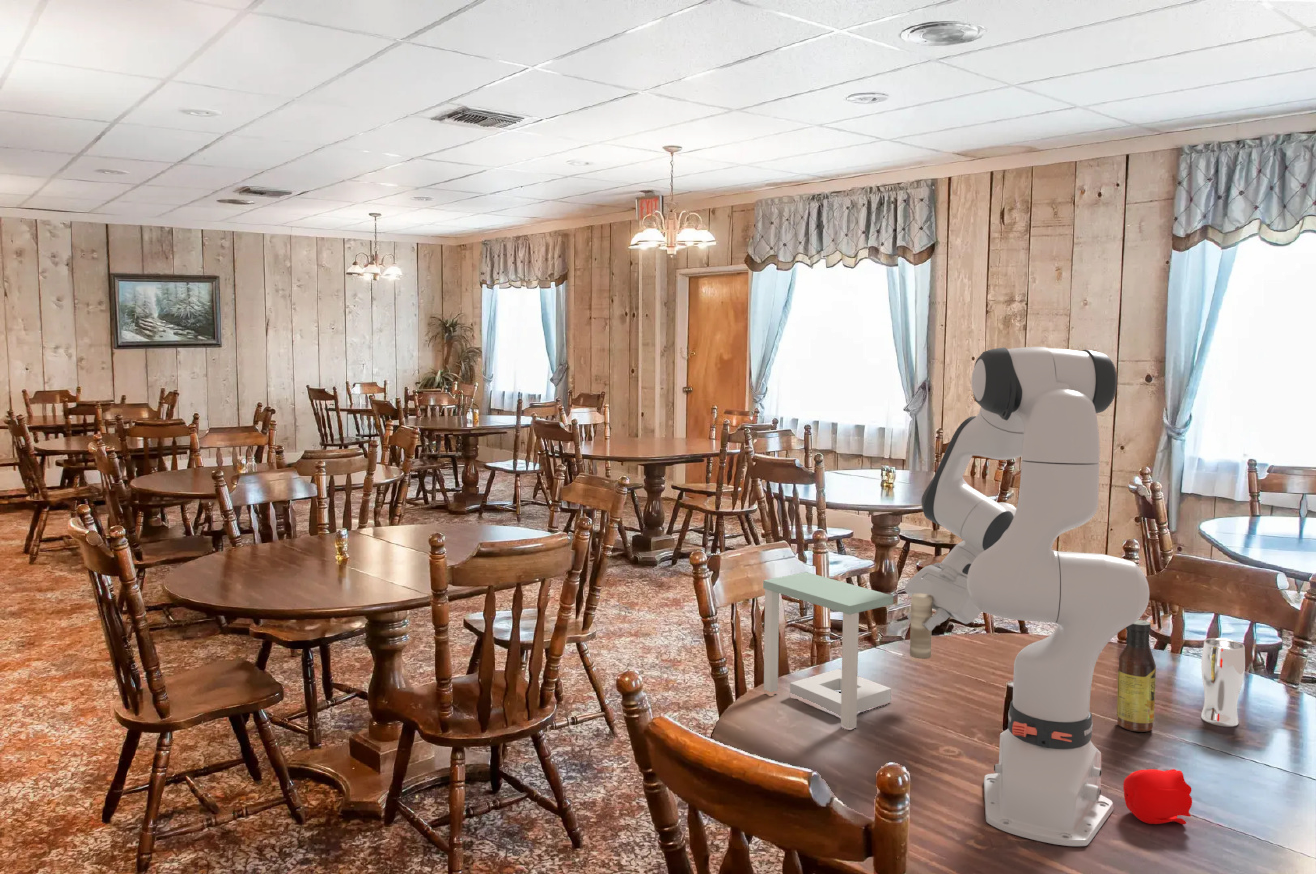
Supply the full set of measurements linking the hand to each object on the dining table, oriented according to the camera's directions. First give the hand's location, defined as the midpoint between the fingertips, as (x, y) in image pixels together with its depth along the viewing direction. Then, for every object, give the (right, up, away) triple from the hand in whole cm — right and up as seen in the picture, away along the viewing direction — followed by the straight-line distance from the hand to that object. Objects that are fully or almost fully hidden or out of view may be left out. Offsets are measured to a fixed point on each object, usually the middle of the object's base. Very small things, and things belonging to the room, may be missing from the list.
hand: (918, 624), depth 184 cm
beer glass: (+55, -17, -8) cm, 58 cm away
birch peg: (+1, -6, +1) cm, 6 cm away
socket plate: (-15, -16, +2) cm, 22 cm away
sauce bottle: (+37, -17, -10) cm, 42 cm away
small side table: (-19, -16, 0) cm, 25 cm away
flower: (+23, -21, -44) cm, 54 cm away
